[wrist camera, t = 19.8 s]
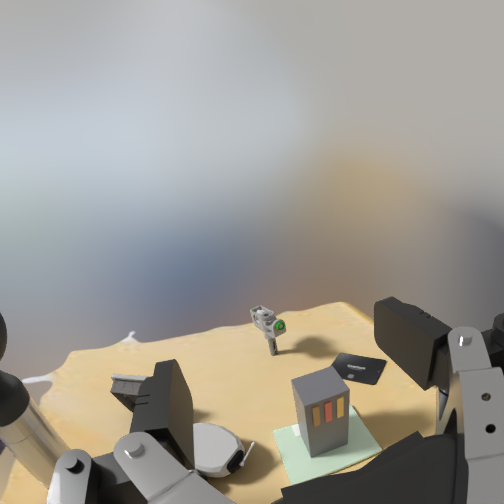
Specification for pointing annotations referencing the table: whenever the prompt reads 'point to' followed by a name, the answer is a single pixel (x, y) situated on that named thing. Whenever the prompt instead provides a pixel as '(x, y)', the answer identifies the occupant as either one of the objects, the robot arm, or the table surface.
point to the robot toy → (217, 451)
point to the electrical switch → (126, 389)
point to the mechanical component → (268, 325)
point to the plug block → (322, 410)
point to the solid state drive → (358, 368)
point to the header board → (309, 468)
